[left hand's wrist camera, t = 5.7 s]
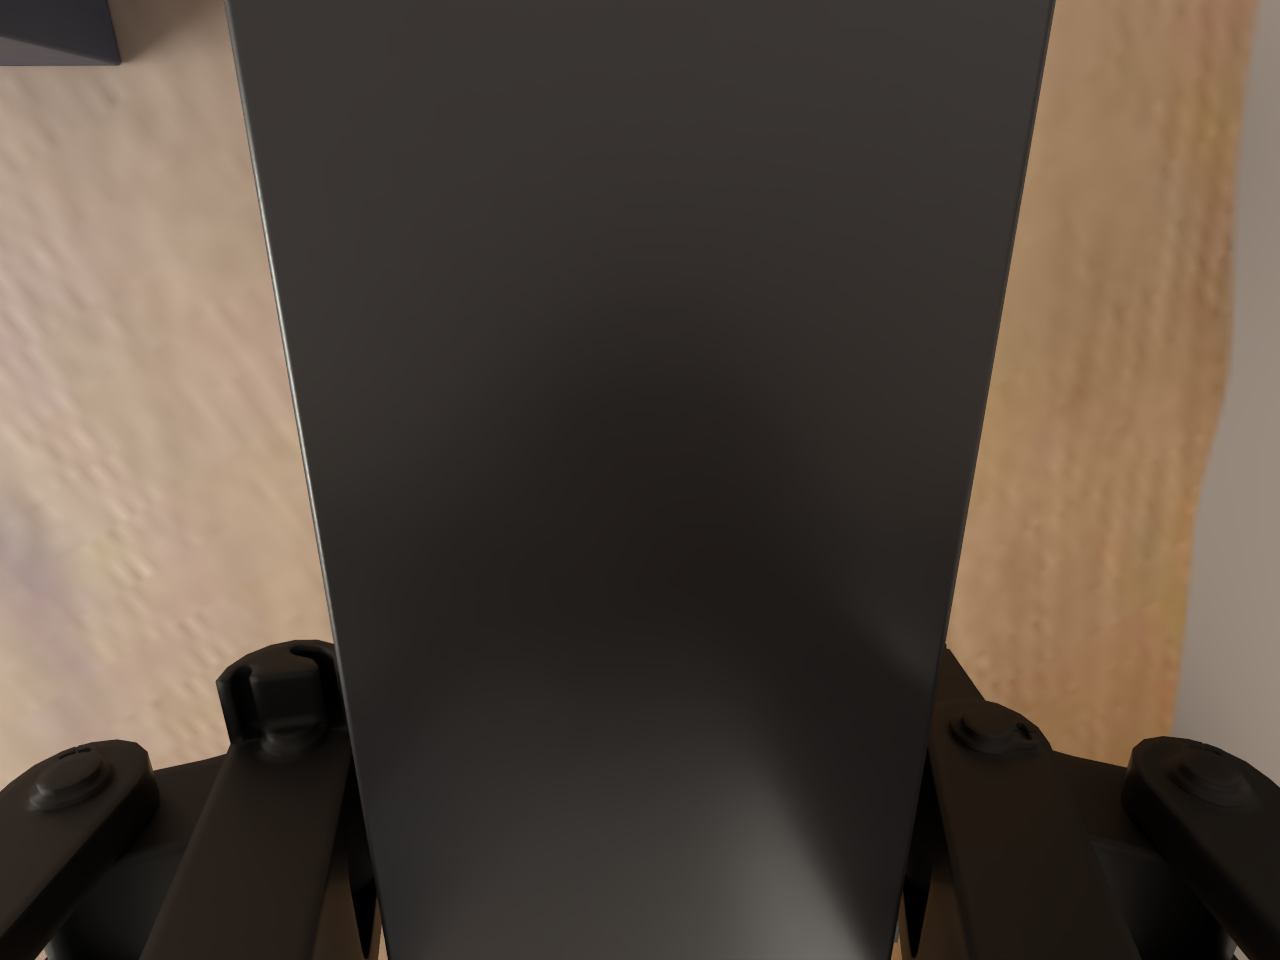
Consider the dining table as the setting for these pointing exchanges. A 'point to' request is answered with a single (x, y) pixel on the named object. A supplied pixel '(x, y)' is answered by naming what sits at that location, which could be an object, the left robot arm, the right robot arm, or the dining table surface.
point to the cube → (56, 33)
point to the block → (639, 440)
